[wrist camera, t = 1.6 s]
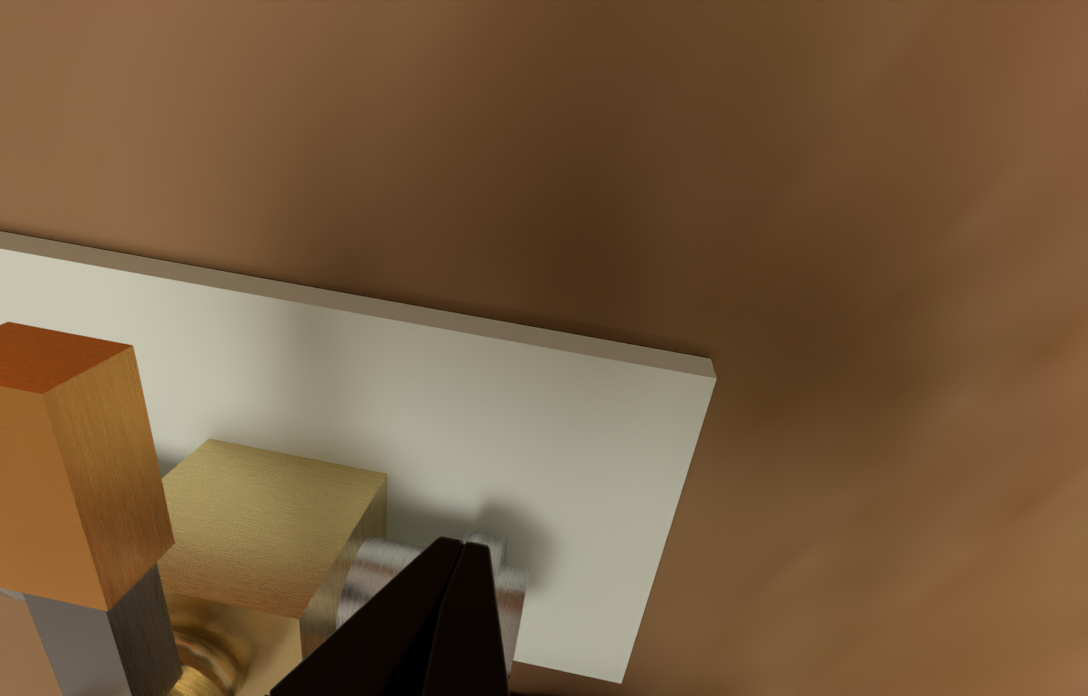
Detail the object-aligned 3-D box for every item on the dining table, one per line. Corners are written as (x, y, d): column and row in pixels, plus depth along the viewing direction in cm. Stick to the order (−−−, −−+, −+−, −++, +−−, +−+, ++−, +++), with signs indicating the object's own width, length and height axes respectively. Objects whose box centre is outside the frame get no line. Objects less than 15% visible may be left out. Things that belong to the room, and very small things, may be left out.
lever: (240, 754, 14) (185, 850, 12) (115, 724, 14) (42, 816, 13) (168, 351, 9) (56, 418, 7) (-26, 315, 9) (-180, 370, 8)
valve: (542, 504, 18) (504, 691, 12) (522, 616, 20) (483, 816, 15) (64, 409, 19) (-164, 544, 13) (98, 527, 21) (-85, 682, 15)
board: (621, 654, 22) (621, 683, 21) (45, 531, 23) (16, 553, 22) (710, 358, 16) (716, 378, 15) (-63, 219, 17) (-108, 229, 16)
